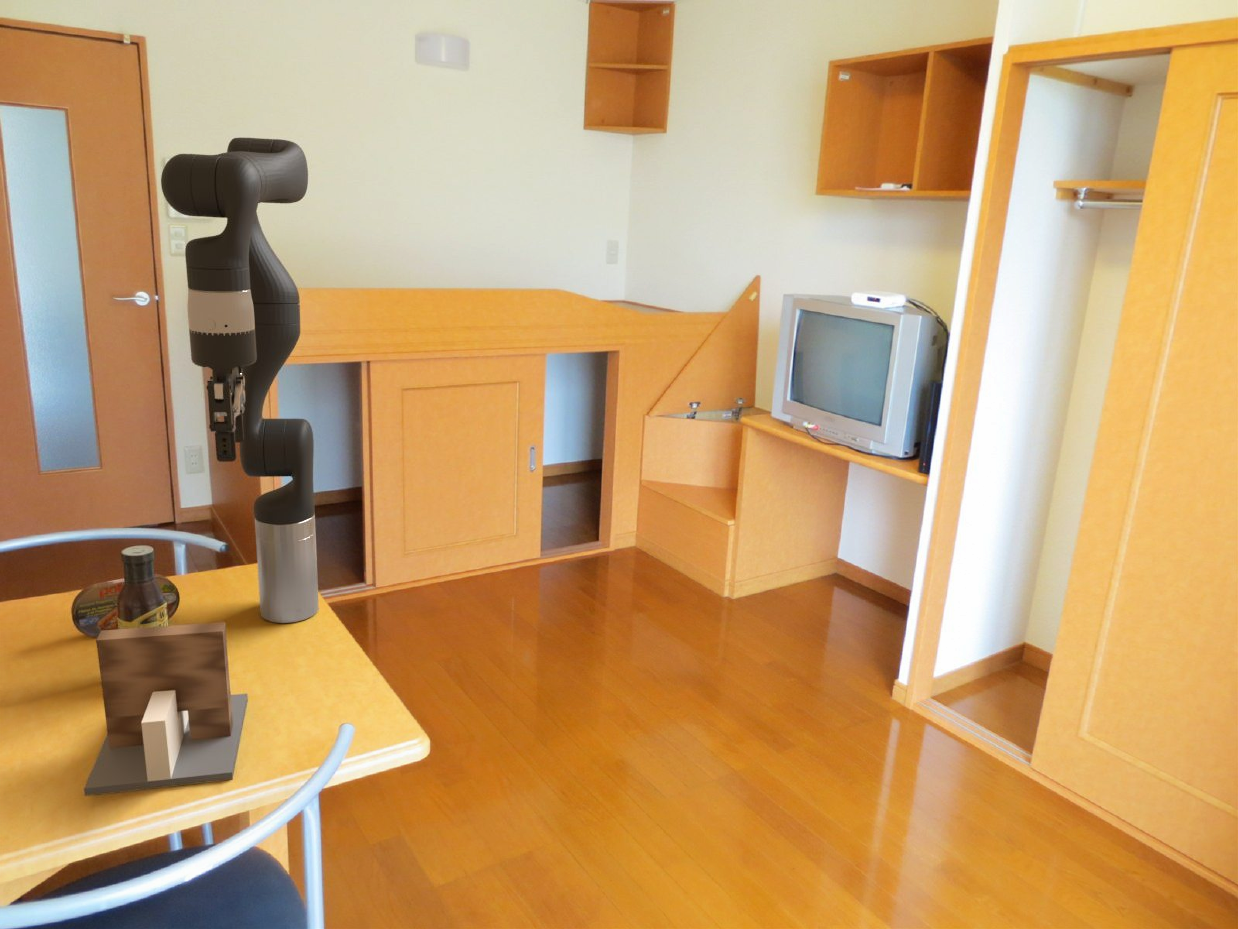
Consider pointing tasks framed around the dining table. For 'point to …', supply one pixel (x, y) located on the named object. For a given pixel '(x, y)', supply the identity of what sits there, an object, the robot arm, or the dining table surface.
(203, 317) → the robot arm
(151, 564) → the sauce bottle
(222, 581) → the dining table surface
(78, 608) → the tin
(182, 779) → the slotted stand
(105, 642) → the walnut plate
